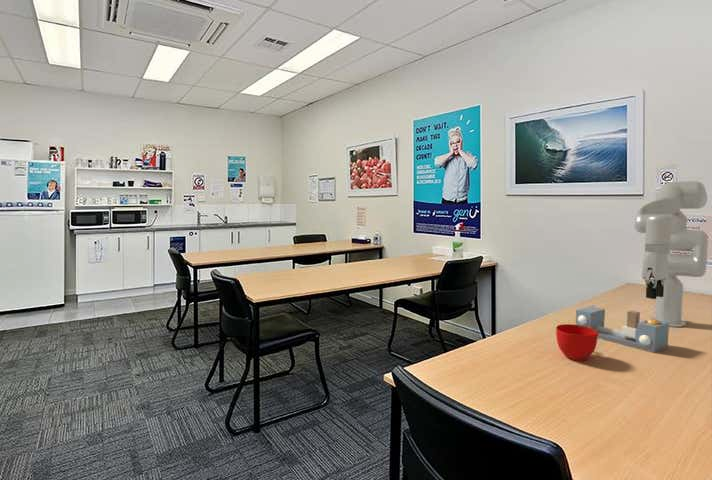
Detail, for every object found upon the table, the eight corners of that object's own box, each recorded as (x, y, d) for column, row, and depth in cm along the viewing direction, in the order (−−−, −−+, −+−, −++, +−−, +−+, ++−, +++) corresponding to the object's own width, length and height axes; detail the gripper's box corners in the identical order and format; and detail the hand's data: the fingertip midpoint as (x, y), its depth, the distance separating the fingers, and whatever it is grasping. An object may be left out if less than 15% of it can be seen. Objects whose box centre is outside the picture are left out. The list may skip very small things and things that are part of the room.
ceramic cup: (589, 349, 151) (590, 323, 150) (600, 366, 135) (602, 337, 134) (551, 345, 155) (552, 320, 154) (557, 361, 139) (559, 333, 138)
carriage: (629, 333, 161) (631, 309, 160) (643, 337, 157) (645, 311, 156) (620, 336, 158) (622, 311, 157) (635, 340, 153) (636, 314, 152)
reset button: (649, 326, 154) (650, 318, 153) (660, 328, 151) (661, 320, 150) (645, 327, 152) (645, 319, 151) (656, 330, 149) (656, 322, 148)
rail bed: (589, 327, 177) (590, 306, 176) (667, 347, 152) (669, 322, 151) (574, 332, 171) (575, 310, 170) (653, 353, 146) (654, 327, 145)
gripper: (656, 246, 156) (653, 292, 158) (634, 249, 147) (632, 298, 149) (679, 248, 150) (676, 296, 151) (658, 251, 141) (655, 302, 142)
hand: (654, 296), depth 150 cm, fingers open, 4 cm apart
